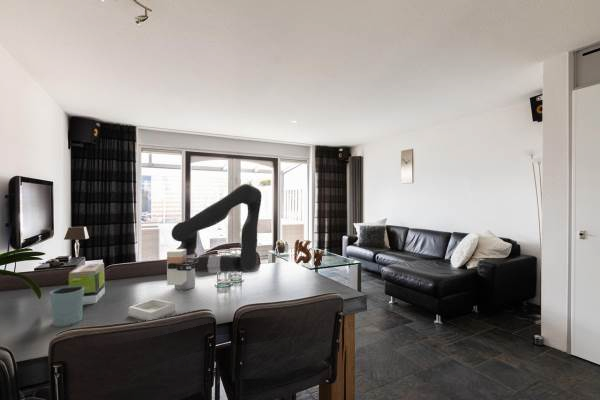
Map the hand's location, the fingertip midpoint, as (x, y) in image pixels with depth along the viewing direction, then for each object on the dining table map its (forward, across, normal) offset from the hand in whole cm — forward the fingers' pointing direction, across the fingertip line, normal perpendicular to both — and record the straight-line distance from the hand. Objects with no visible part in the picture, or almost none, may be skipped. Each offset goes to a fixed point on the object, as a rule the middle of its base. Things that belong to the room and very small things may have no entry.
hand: (171, 264), depth 126 cm
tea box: (+41, -10, +18) cm, 45 cm away
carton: (-2, 0, +8) cm, 8 cm away
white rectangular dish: (+4, +9, +18) cm, 20 cm away
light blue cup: (+33, +14, +18) cm, 40 cm away
